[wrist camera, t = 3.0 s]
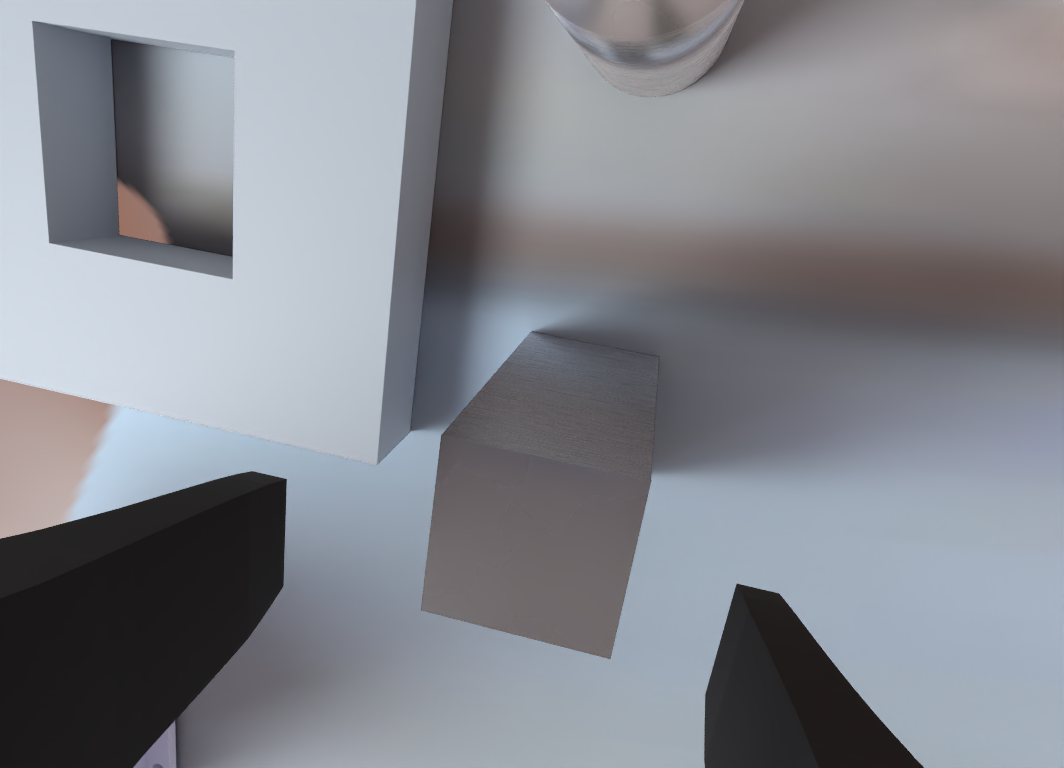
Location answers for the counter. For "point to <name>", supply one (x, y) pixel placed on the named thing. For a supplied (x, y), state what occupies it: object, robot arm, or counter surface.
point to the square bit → (545, 494)
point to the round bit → (649, 39)
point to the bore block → (258, 218)
